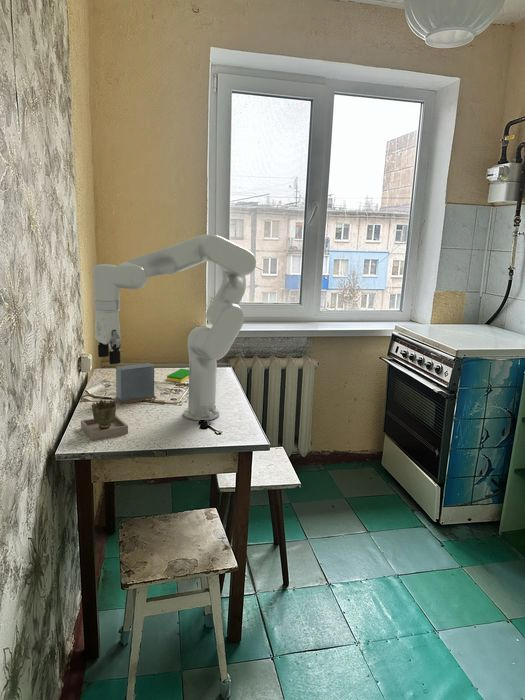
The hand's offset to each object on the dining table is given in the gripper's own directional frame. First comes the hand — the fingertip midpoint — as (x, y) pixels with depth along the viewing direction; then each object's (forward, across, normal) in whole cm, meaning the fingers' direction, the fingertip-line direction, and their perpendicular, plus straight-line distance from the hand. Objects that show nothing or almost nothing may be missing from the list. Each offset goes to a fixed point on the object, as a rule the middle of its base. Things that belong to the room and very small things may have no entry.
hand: (109, 360), depth 151 cm
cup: (+22, +1, -3) cm, 22 cm away
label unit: (+23, -22, +18) cm, 36 cm away
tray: (+22, +1, -3) cm, 23 cm away
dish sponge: (+24, -41, +47) cm, 67 cm away
